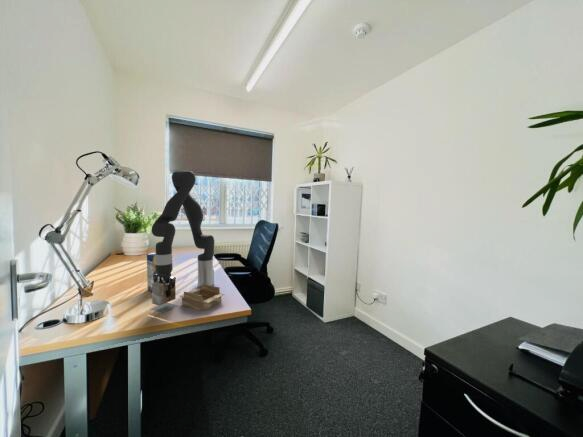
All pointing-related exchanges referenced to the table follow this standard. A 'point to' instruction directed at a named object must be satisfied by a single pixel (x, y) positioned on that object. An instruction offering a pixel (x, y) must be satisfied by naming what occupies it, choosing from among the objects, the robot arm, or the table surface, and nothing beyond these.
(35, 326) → the table surface
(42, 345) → the table surface
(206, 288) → the kraft carton
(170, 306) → the felt mat
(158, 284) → the walnut block
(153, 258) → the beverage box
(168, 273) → the robot arm
